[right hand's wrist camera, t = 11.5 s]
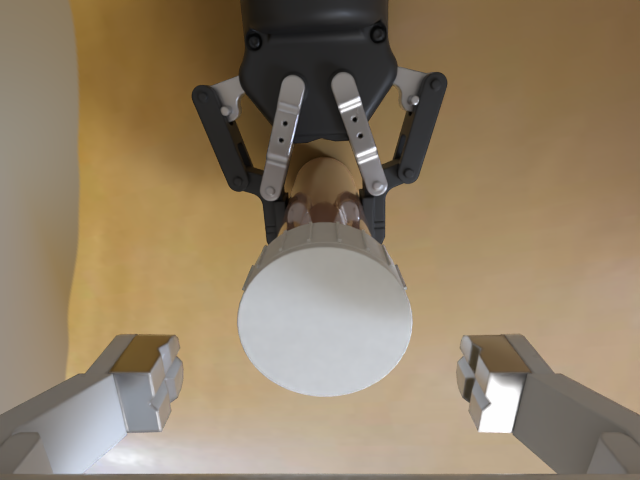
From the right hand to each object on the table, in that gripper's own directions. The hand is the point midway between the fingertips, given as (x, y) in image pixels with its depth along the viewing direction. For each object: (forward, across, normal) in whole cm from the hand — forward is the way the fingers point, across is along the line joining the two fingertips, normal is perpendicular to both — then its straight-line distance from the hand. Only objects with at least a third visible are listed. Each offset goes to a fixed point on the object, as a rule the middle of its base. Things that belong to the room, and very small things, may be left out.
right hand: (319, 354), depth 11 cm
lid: (+2, 0, 0) cm, 2 cm away
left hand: (+14, 0, -3) cm, 14 cm away
